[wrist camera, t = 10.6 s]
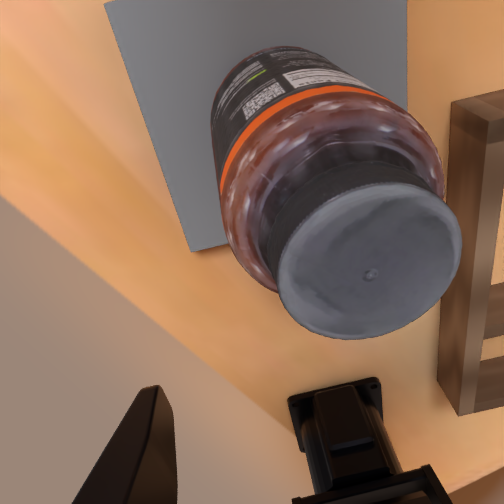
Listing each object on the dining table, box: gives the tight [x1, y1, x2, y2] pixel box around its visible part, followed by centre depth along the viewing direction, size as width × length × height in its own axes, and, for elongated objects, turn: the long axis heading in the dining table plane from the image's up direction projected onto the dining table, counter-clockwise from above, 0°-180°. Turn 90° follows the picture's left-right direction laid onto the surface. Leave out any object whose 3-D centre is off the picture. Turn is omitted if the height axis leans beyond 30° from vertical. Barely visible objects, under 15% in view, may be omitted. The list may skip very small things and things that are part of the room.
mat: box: [104, 0, 407, 252], centre depth 19 cm, size 11×11×1 cm
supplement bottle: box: [210, 46, 462, 340], centre depth 14 cm, size 6×6×11 cm
